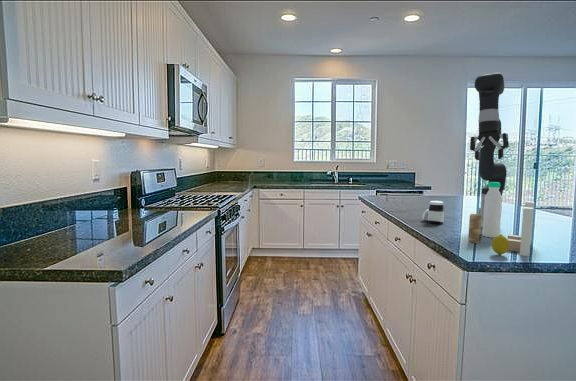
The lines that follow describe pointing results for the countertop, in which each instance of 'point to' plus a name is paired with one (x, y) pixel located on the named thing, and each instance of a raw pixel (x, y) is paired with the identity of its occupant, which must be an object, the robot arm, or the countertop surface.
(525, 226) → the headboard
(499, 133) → the robot arm
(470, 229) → the tan wooden block
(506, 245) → the lemon
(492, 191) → the water bottle
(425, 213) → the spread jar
